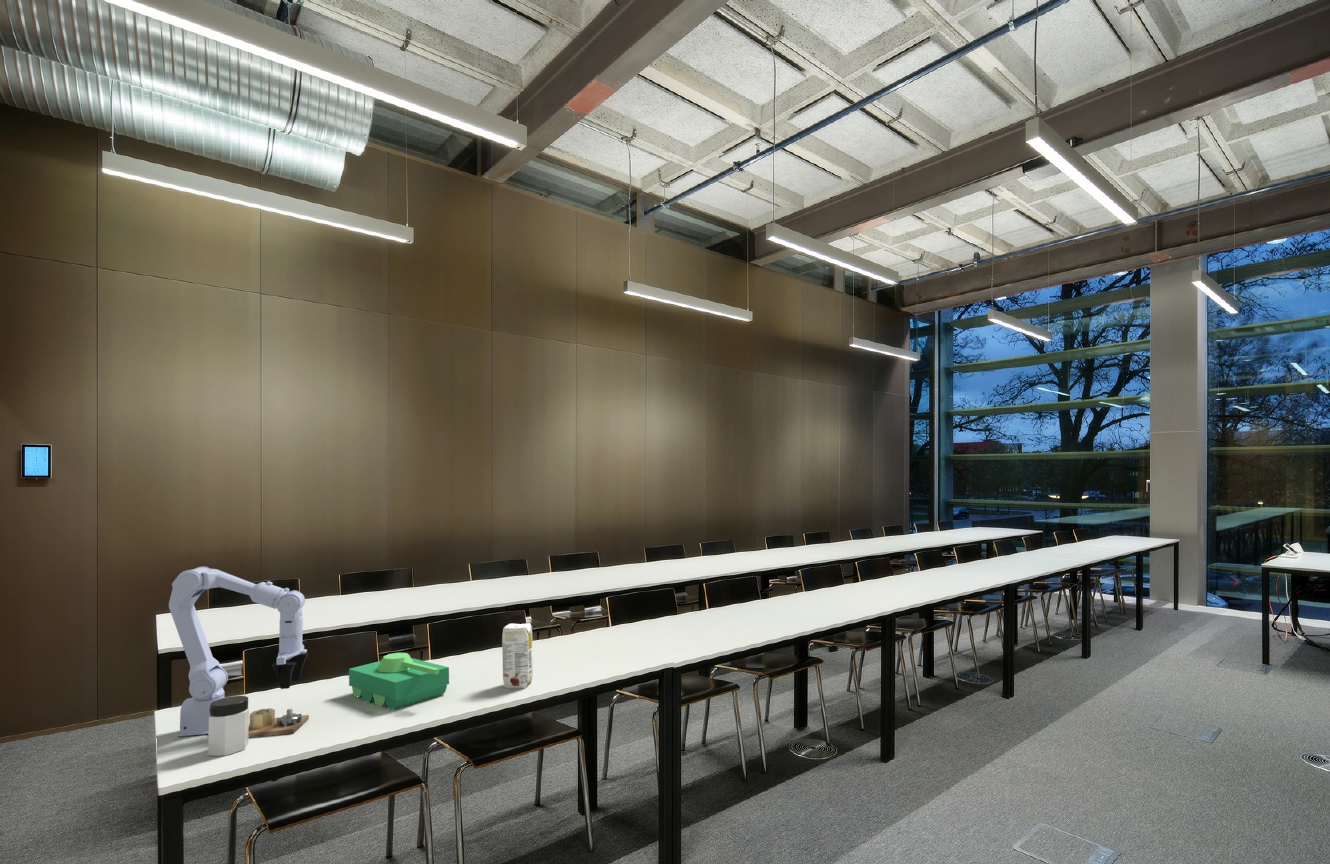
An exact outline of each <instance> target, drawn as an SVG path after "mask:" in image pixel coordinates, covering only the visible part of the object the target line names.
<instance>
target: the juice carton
mask: <svg viewBox="0 0 1330 864" xmlns="http://www.w3.org/2000/svg"><path fill="white" fill-rule="evenodd" d="M501 643H502V647H501V648H502V651H501V652H502V682H503V687H504V689H526V688H527V687H528V686H529V685H531V683H532V681H533V674H534V671H533V670H534V667H533V665H534V663H533V662H534V661H533V659H534V658H533V630H532V624H531V623H530V622H529V623H528V622H527V623H521V624H520V623H513V622H512V623H508V624H507V625H505V626H504V627H503V629H502V638H501Z"/></svg>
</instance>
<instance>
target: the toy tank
mask: <svg viewBox="0 0 1330 864" xmlns="http://www.w3.org/2000/svg"><path fill="white" fill-rule="evenodd" d="M448 685H450V667H449V666H445V665H441V664H437V663H434V662H433V663H432V662H429V661H425V660H421V659H418V658H417V659H416V658H412V657H411V655H410V654H409V653H407V652H394V653H388V654H387V655H384V656H382V659H381V660H379V661H376V662H371V663H367V664H363V665H359V666H356V667H351V668H348V687H349V686H350V687H352V688H351V690H352V693H353V695H355V696H354V697H356V696H358V697H357V698H361V696H362V699H363V701H364V700H365V701H364V702H366V701H367V703H369V702H374V703H375V705H376V706H378V707H384V706H387V708H388V709H389V708H390V710H392V709H393V710H392V711H394V709H395V710H397V708H398V709H401V708H404V707H407V706H410V704H411V705H413V703H414V704H416V702H417V703H419V702H423V701H425V700H426V701H427V700H428V699H429V698H430V699H432V698H435V697H439V696H442V695H445V693H446V690H447V687H448ZM430 699H429V700H430ZM403 706H404V707H403ZM400 707H401V708H400Z"/></svg>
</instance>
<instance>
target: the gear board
mask: <svg viewBox="0 0 1330 864" xmlns="http://www.w3.org/2000/svg"><path fill="white" fill-rule="evenodd" d="M293 711H294V710H293V708H288V709H287V710H286V715H287V718H291V717H293ZM263 713H265V711H261V712H259V714H263ZM280 717H281V716H279V717H275V723H274V724H273V725H272V726H269V727H266V728H262V729H251V728H249V732H248V739H252V738H261V736H264V737H270V736H269V735H275V736H278V735H277V734H285V735H294V734H295V733H297V731H298V730H300V728H301V727H302V726H304V725H305V723H307V722H308V721H309V717H310V716H309V714H305V715H302V722H299V723H297V724H296V725H290V726H287V727H283V726H279V727H278V726H277V718H280Z"/></svg>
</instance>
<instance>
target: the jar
mask: <svg viewBox="0 0 1330 864" xmlns="http://www.w3.org/2000/svg"><path fill="white" fill-rule="evenodd" d="M209 711H210V716H209V728H208V734H207V735H208V737H207V739H208V741H207V749H208V750H207V756H208V757H210V756H211V757H226V756H229V755H232V754H235V753H239V752H243V751H245V750H246V748H247V746H248V745H249V738H248V732H249V723H250V713H249V712H250V706H249V696H246V695H233V696H227V697H226V696H225V697H224V698H222V699H219V700H216V701H214V702H212V703H211V704H210V709H209Z"/></svg>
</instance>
